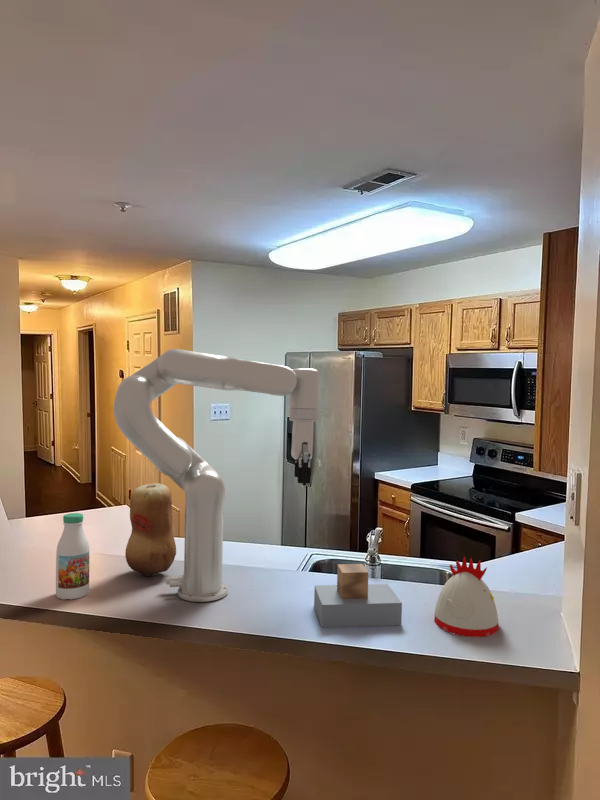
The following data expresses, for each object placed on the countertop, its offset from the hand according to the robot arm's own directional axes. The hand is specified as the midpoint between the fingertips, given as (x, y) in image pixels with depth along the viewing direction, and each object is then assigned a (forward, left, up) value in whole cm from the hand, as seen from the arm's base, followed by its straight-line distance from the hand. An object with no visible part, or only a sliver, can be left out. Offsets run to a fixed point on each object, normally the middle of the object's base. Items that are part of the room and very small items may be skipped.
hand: (301, 479), depth 150 cm
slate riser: (+11, -20, -28) cm, 36 cm away
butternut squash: (-40, +11, -28) cm, 50 cm away
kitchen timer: (+35, -26, -28) cm, 52 cm away
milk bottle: (-57, -3, -28) cm, 64 cm away
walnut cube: (+10, -20, -23) cm, 32 cm away
